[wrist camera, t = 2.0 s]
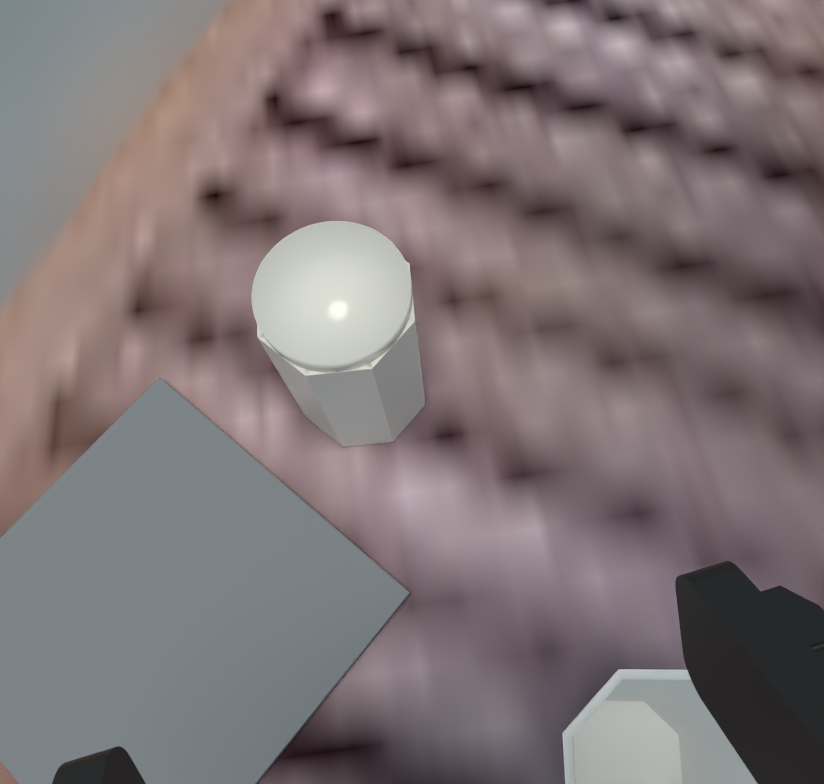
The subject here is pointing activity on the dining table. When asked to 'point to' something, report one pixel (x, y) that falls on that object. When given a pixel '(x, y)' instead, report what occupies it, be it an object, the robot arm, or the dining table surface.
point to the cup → (649, 735)
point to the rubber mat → (175, 607)
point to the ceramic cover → (342, 330)
